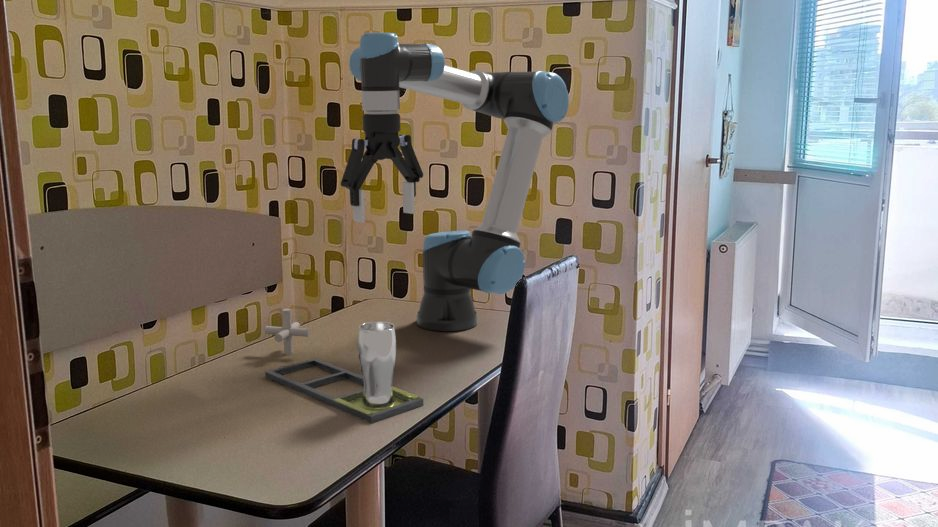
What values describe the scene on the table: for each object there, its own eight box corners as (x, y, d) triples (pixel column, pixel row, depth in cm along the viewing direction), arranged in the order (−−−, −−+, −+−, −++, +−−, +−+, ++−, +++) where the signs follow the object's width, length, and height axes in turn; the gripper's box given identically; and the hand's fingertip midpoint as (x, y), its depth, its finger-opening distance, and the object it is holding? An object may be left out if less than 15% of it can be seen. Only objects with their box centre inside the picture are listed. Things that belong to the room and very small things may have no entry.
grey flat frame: (315, 363, 183) (315, 357, 183) (423, 405, 160) (423, 397, 160) (265, 377, 175) (265, 370, 174) (371, 423, 151) (371, 415, 151)
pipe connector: (301, 361, 184) (299, 316, 182) (257, 358, 186) (255, 314, 184) (317, 348, 194) (316, 305, 192) (276, 345, 196) (274, 303, 194)
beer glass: (372, 394, 165) (371, 319, 162) (403, 400, 162) (403, 323, 158) (351, 406, 159) (350, 328, 155) (383, 413, 155) (382, 333, 152)
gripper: (413, 109, 183) (416, 207, 188) (319, 115, 166) (324, 223, 170) (438, 110, 178) (440, 211, 183) (344, 116, 161) (349, 227, 165)
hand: (384, 217), depth 177 cm, fingers open, 13 cm apart
